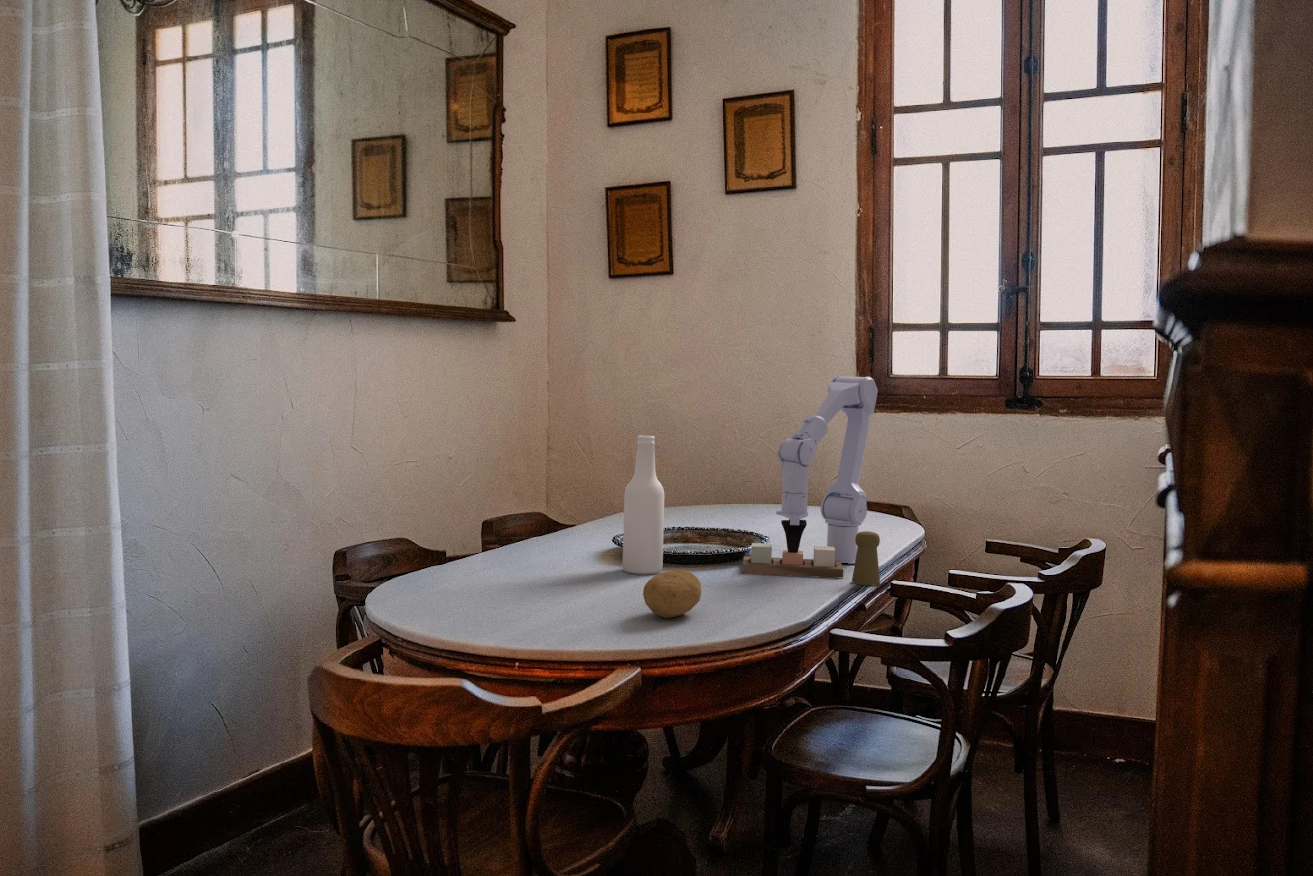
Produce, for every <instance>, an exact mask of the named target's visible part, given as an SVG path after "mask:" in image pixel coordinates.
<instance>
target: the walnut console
mask: <svg viewBox="0 0 1313 876" xmlns="http://www.w3.org/2000/svg"><path fill="white" fill-rule="evenodd" d="M742 574H746V575H747V574H750V575H768V576H770V575H772V576H787V575H791V576H793V577H807V576H819V577H818V578H828V577H843V578H844V567H843V565H842V564H841V561H837V560H835V567H827V566H814V564H813V558H811V559H810V558H803V565H785V564H782V557H772V556H771V564H764V563H751V556H749V555H748V556H747V555H744V556H743V562H742Z"/></svg>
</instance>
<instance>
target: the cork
mask: <svg viewBox="0 0 1313 876" xmlns="http://www.w3.org/2000/svg"><path fill="white" fill-rule="evenodd" d="M855 542H856V545H857V546H858V548H857V554H856V560H855V564H854V565H853V573H852V579H851V583H852V582H853V584H855V585H861V586H878V585H881V578H880V569H879V567H880V566H879V557H878V547H879V546H880V543H881V539H880V535H879V533H876V532H873V531H869V530H868V531H866V530H864V531H858V533H857V535H856V537H855Z"/></svg>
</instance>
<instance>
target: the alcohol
mask: <svg viewBox="0 0 1313 876" xmlns="http://www.w3.org/2000/svg"><path fill="white" fill-rule="evenodd" d="M636 439H637V440H636V444H637V445H636V454H635V465H634V474H633V476H632V478H631V480H630V481H629V482H628V483H627V484H626V486H625V488H624V489H625V490H624V496H623V497H624V498H623V499H624V500H623V501H624V503H623V506H624V507H623V531H622V532H623V535H622V537H623V539H622V542H623V543H622V569H623V571H624V572H625V573H626V574H631V575H636V576H637V575H638V576H640V575H642V576H650V575H657V574H660V573H661V570H662V569H663V564H664V563H663V560H664V527H665V526H664V524H665V523H664V521H665V490H664V486H663V484H662V483H661V482H660V481H659V480H658V476H657V473H656V458H655V457H656V455H655V444H656V441H655V439H656V437H655V435H648V434H647V435H646V434H645V435H644V434H643V435H637V437H636Z"/></svg>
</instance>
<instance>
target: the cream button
mask: <svg viewBox="0 0 1313 876" xmlns="http://www.w3.org/2000/svg"><path fill="white" fill-rule="evenodd" d="M812 559H813V564H814V566H827V567H835V548H834V547H827V545H825V546H824V545H821V546H820V545H813V558H812Z"/></svg>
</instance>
